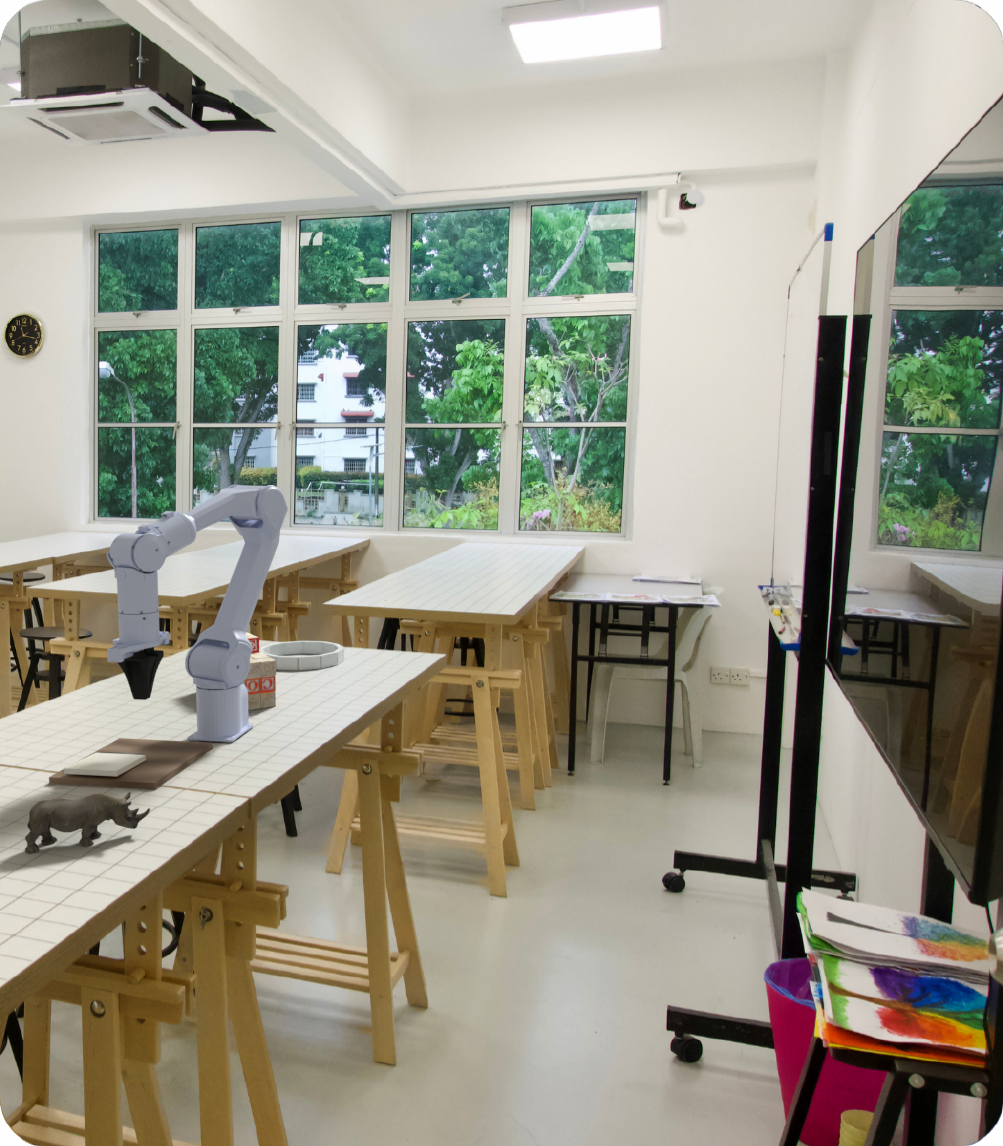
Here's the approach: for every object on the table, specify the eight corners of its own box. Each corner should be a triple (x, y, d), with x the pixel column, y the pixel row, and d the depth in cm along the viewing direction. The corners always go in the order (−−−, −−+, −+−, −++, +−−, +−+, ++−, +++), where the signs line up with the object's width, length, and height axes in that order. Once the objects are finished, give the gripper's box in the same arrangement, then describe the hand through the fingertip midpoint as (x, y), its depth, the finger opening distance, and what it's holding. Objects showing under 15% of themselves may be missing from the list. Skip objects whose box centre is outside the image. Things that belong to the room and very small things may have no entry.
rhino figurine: (150, 839, 104) (149, 792, 103) (23, 857, 99) (20, 807, 98) (151, 827, 108) (149, 781, 107) (28, 842, 103) (25, 795, 102)
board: (119, 744, 140) (119, 732, 140) (212, 748, 139) (212, 736, 138) (49, 783, 122) (48, 770, 122) (155, 789, 120) (154, 776, 120)
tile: (63, 768, 122) (64, 774, 122) (116, 770, 121) (116, 777, 121) (96, 752, 130) (96, 758, 130) (145, 755, 129) (145, 760, 129)
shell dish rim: (277, 651, 215) (276, 639, 215) (352, 654, 213) (352, 642, 213) (245, 668, 196) (245, 655, 196) (328, 671, 194) (328, 658, 194)
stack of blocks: (277, 707, 164) (276, 644, 163) (245, 711, 161) (243, 647, 159) (240, 684, 182) (239, 627, 180) (211, 688, 178) (209, 630, 177)
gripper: (138, 603, 137) (141, 686, 139) (86, 618, 123) (89, 710, 125) (180, 605, 137) (182, 687, 138) (132, 620, 122) (135, 712, 124)
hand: (141, 698), depth 131 cm, fingers closed
